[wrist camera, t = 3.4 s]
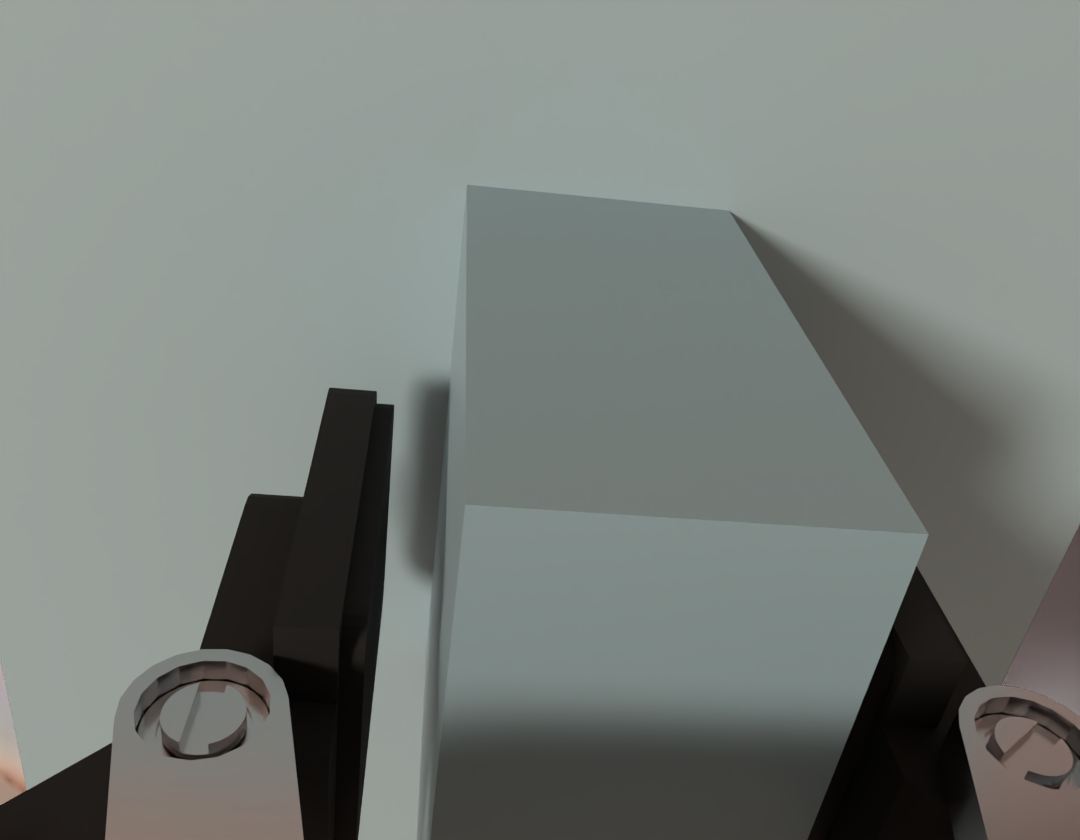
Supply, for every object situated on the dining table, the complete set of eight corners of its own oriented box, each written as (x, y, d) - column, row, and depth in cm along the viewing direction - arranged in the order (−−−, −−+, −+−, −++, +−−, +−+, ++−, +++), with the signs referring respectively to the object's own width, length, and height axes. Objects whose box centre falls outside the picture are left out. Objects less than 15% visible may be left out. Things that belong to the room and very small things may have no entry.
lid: (1336, -332, 11) (2762, -528, 4) (853, 809, 21) (1045, 1317, 14) (-125, -584, 10) (-1746, -1604, 3) (88, 785, 19) (-129, 1350, 12)
